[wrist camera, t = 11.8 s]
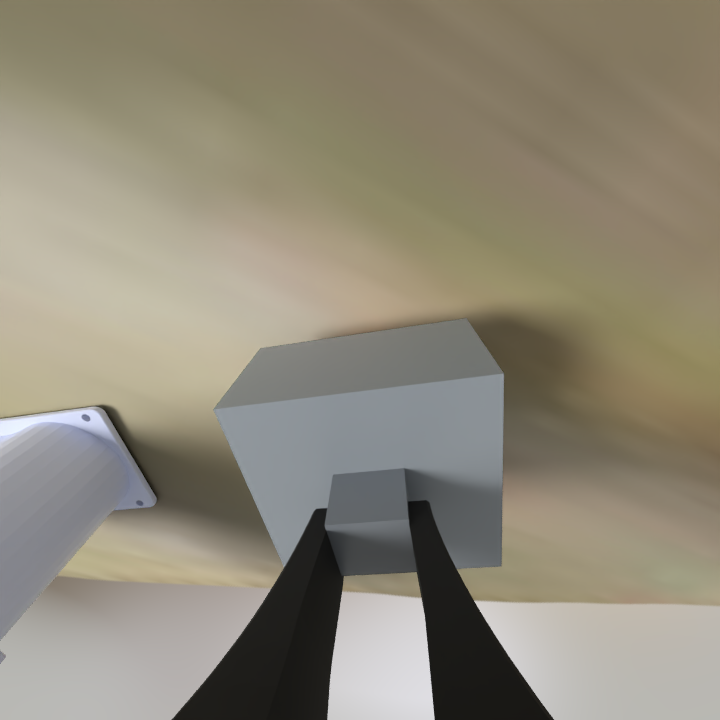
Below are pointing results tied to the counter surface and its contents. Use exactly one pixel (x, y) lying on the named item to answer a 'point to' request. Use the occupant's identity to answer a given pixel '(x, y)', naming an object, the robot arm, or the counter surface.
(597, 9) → the counter surface
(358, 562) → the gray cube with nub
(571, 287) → the counter surface
